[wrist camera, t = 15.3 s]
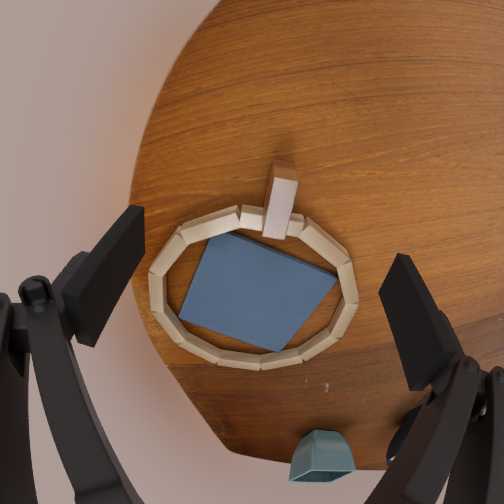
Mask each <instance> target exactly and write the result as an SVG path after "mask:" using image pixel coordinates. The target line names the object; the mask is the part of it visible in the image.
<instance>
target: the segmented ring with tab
mask: <svg viewBox="0 0 504 504" xmlns="http://www.w3.org/2000/svg"><path fill="white" fill-rule="evenodd" d="M298 185H299V179H298V175H297V172H296V168H295V164H294V162H289V161H284V160H279V159H273V160H272V165H271V170H270V175H269V180H268V185H267V190H266V195H265V200H264V205H263V208H262V207H256V206H250V205H244V204H243V205H242V208H241V212H240V210H239V207H238V205H234V206H231V207H228V208H225V209H222V210H219V211H217V212H214V213H211V214H208V215H205V216H202V217H199V218H196V219H193V220H191V221H188V222H185V223H183V225H182V227H181V226H179V227H178V228H177V230H176V231H175V232H174V234H173V235H172V236H171V238H170V239H169V240H168V242H167V243H166V244H165V246H164V247H163V248H162V250H161V251H160V252H159V254H158V255H157V256H156V258H155V259H154V261H153V262H152V264H151V267H150V269H149V270H150V271H149V273H148V280H149V294H150V307H151V311H153V313H152V314H153V315H154V317H155V318H156V319H157V321H158V322H159V323H160V324H161V326H162V327H163V328H164V329H165V331H166V332H167V333H168V334H169V336H170V337H171V338H172V339H173V341H174V342H175V343H179V346H180V347H182V348H184V349H186V350H188V351H190V352H192V353H194V354H195V355H197V356H199V357H201V358H203V359H205V360H207V361H209V362H211V363H213V364H215V363H216V362H218V365H220V366H227V367H234V368H242V369H249V370H258V371H259V369H260V367H261V369H262V370H268V369H273V368H279V367H284V366H289V365H294V364H299V363H303V360H305V361H307V360H309V359H310V358H312V357H314V356H315V355H317V354H318V353H320V352H322V351H323V350H325V349H326V348H328V347H329V346H331V345H332V344H334V343H335V342H337V341H338V340H339V338H342V336H343V334H344V332H345V330H346V329H347V327H348V325H349V323H350V321H351V319H352V317H353V315H354V314H355V312H356V310H357V308H358V306H359V303H358V302H359V296H358V290H357V285H356V280H355V275H354V270H353V265H352V261H351V259H350V256H349V254H348V253H347V250H346V249H345V248H344V247H343V246H342V245H340V244H339V243H338V242H337V241H336V240H335V239H333V238H332V237H331V236H330V235H329V234H328V233H326V232H325V231H324V230H323V229H322V228H321V227H319V226H318V225H317V224H316V223H315V222H313V221H312V220H311V219H310V218H309V217H306V218H305V219H304V218H303V215H302V214H296V213H292V209H293V205H294V201H295V197H296V193H297V189H298ZM239 228H245V229H251V230H257V231H262V237H268V238H274V239H280V240H285V237H286V235H287V236H293V237H298V238H300V239H301V240H302V241H304V242H305V243H306V244H307V245H309V246H310V247H311V248H312V249H314V250H315V251H316V252H317V253H319V254H320V255H321V256H322V257H324V258H325V259H326V260H327V261H329V262H330V263H331V264H332V265H334V266H335V267H336V269H337V273H338V277H339V281H340V285H341V289H342V294H343V296H342V298H341V300H340V302H339V305H338V307H337V309H336V311H335V313H334V315H333V317H332V319H331V321H330V324H329V326H328V327H327V328H325V329H324V330H322V331H321V332H320V333H318V334H317V335H315V336H314V337H312V338H311V339H309V340H308V341H306V342H305V343H303V344H302V345H300V346H299V347H296V348H291V349H287V350H282V351H280V352H279V353H277V352H272V353H267V354H262V355H257V354H249V353H242V352H235V351H228V350H221V349H219V348H217V347H215V346H213V345H211V344H210V343H208V342H206V341H204V340H202V339H200V338H198V337H197V336H195V335H193V334H191V333H189V332H188V331H187V330H186V329H185V327H184V326H183V325H182V323H181V322H180V321H179V319H178V318H177V317H176V315H175V314H174V312H173V311H172V310H171V308H170V307H169V305H168V304H167V291H166V272H167V271H168V270H169V268H170V267H171V266H172V264H173V263H174V262H175V261H176V260H177V258H178V257H179V256H180V255H181V253H182V252H183V251H184V250H185V248H186V247H187V246H188V245H189V244H192V243H195V242H198V241H201V240H204V239H207V238H210V237H213V236H216V235H220V234H223V233H226V232H229V231H232V230H235V229H239Z"/></svg>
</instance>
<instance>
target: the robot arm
mask: <svg viewBox="0 0 504 504" xmlns="http://www.w3.org/2000/svg"><path fill="white" fill-rule="evenodd" d="M144 254H145V230H144V207H141V206H135V205H130V206H129V207H128V208H127V209H126V210H125V212H124V213H123V214H122V215H121V216H120V217H119V218H118V219H117V221H116V222H115V223H114V224H113V225H112V227H111V228H110V229H109V230H108V231H107V233H106V234H105V235H104V236H103V237H102V239H101V240H100V241H99V242H98V244H97V245H96V246H95V247H94V248H93V250H92V251H91V252H90V253H88V252H84V251H82V252H80V253H78V254H77V255H75V256H74V257H72V259H71V260H70V261H69V262H68V264H67V266H65V267H64V269H63V270H62V272H61V273H60V274H59V275H58V276H57V278H56V279H55V280H54V281H53V283H52V284H50V282H49V280H48V279H47V278H46V277H44V276H40V275H37V276H32V277H29V278H27V279H26V280H25V281H23V282H22V283H21V285H20V286H19V289H18V293H19V296H20V298H21V301H22V303H11V301H10V299H9V297H8V295H7V294H5V293H0V504H38V501H37V496H36V490H35V484H34V477H33V470H32V461H31V451H30V439H29V419H28V381H29V361H30V353H31V355H32V361H33V366H34V370H35V375H36V380H37V384H38V388H39V392H40V396H41V400H42V403H43V407H44V411H45V414H46V417H47V421H48V424H49V427H50V430H51V433H52V436H53V439H54V442H55V444H56V447H57V450H58V453H59V455H60V458H61V461H62V463H63V465H64V468H65V470H66V473H67V475H68V477H69V480H70V482H71V484H72V486H73V489H74V492H75V503H76V504H144V502H143V501H142V499H141V498H140V497H139V495H138V494H137V492H136V491H135V489H134V487H133V485H132V484H131V482H130V480H129V479H128V477H127V475H126V473H125V471H124V469H123V468H122V466H121V464H120V462H119V460H118V459H117V456H116V454H115V452H114V450H113V448H112V446H111V444H110V442H109V440H108V438H107V436H106V434H105V432H104V429H103V427H102V425H101V423H100V420H99V418H98V416H97V413H96V411H95V409H94V406H93V404H92V401H91V399H90V396H89V394H88V391H87V388H86V386H85V383H84V380H83V377H82V374H81V372H80V369H79V366H78V363H77V360H76V357H75V354H74V350H73V347H72V344H71V342H70V340H71V339H72V337H73V335H74V334H75V336H76V339H77V342H78V343H80V344H83V345H87V346H90V347H93V348H94V347H95V344H96V342H97V340H98V338H99V336H100V334H101V332H102V330H103V328H104V327H105V325H106V323H107V321H108V319H109V317H110V315H111V313H112V311H113V309H114V307H115V305H116V304H117V302H118V300H119V298H120V296H121V294H122V292H123V291H124V289H125V287H126V285H127V283H128V282H129V280H130V278H131V276H132V275H133V273H134V271H135V269H136V268H137V266H138V264H139V262H140V261H141V259H142V257H143V256H144ZM378 293H379V296H380V299H381V302H382V304H383V307H384V310H385V313H386V316H387V319H388V322H389V324H390V327H391V330H392V334H393V337H394V340H395V343H396V346H397V349H398V352H399V356H400V359H401V362H402V366H403V369H404V372H405V376H406V380H407V383H408V387H409V390H410V391H422V390H424V389H425V388H426V387H427V386H428V385H429V384H430V383H431V386H432V390H431V391H430V392H429V393H428V394H427V395H425V396H424V397H423V398H422V399H421V401H420V402H419V403H420V404H421V403H422V402H423V401H424V403H423V405H422V407H421V410H420V412H419V414H418V416H417V418H416V420H415V422H414V424H413V425H412V427H411V429H410V431H409V433H408V435H407V437H406V439H405V440H404V442H403V444H402V446H401V447H400V449H399V451H398V453H397V454H396V456H395V458H394V459H393V461H392V463H391V464H390V466H389V467H388V469H387V471H386V472H385V474H384V475H383V477H382V479H381V480H380V481H379V483H378V484H377V486H376V487H375V489H374V490H373V492H372V493H371V495H370V496H369V497H368V499H367V500H366V501H365V503H364V504H435V503H436V501H437V499H438V497H439V495H440V493H441V491H442V489H443V486H444V485H445V482H446V480H447V478H448V476H449V480H448V485H447V489H446V494H445V498H444V502H443V504H504V369H503V368H502V367H499V366H496V367H494V368H493V369H492V370H491V371H490V372H486V371H483V370H481V369H480V366H479V364H478V363H477V361H476V360H475V359H473V358H472V357H470V356H466V355H465V354H464V352H463V349H462V347H461V345H460V343H459V341H458V338H457V336H456V334H454V333H455V332H454V330H453V328H451V324H450V322H449V320H448V318H447V317H446V315H445V314H444V313H443V312H442V311H441V310H438V308H437V306H436V304H435V302H434V300H433V298H432V296H431V294H430V292H429V290H428V288H427V286H426V285H425V283H424V281H423V279H422V277H421V275H420V274H419V272H418V270H417V268H416V267H415V265H414V263H413V261H412V260H411V258H410V256H409V255H405V254H400V253H397V255H396V258H395V260H394V262H393V264H392V266H391V268H390V270H389V272H388V274H387V276H386V278H385V280H384V282H383V284H382V286H381V288H380V290H379V292H378ZM485 408H486V413H485V415H483V410H484V409H485ZM449 473H450V475H449Z"/></svg>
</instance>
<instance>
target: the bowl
mask: <svg viewBox="0 0 504 504" xmlns="http://www.w3.org/2000/svg"><path fill="white" fill-rule="evenodd" d="M421 407H422V405H421V406H419V407H417V408H415V409H413V410H412V411H410V412H409V413H407V414H406V416H405V417H404V419H403V422H402V425H401V426H400V428H399V429H398V430H397V432H396V433H395V435H394V437H393V439H392V440H391V442H390V445H389V447H388V450H387V454H386V460H387V465H388V466H390V464H391V463H392V461H393V459H394V458H395V456H396V454H397V453H398V451H399V449H400V447H401V446H402V444H403V442H404V440H405V439H406V437H407V435H408V433H409V431H410V429H411V427H412V425H413V424H414V422H415V420H416V418H417V416H418V414H419V412H420V410H421Z"/></svg>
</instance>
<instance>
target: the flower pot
mask: <svg viewBox="0 0 504 504" xmlns="http://www.w3.org/2000/svg"><path fill="white" fill-rule="evenodd" d="M355 471H356V468H355V464H354V460H353V456H352V452H351V449H350V446H349V444H348V443H347V441H346V440H345V438H344V437H343V436H342V435H341V434H340V433H339V432H337V431H326V430H313V431H312V432H310V433H309V434H308V435H306V436H305V437H303V438H302V439H301V441H300V442H299V444H298V446H297V448H296V450H295V452H294V454H293V458H292V463H291V469H290V476H289V481H290V482H308V483H331V482H333V481H336V480H338V479H340V478H342V477H344V476H346V475H349V474H351V473H353V472H355Z"/></svg>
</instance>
